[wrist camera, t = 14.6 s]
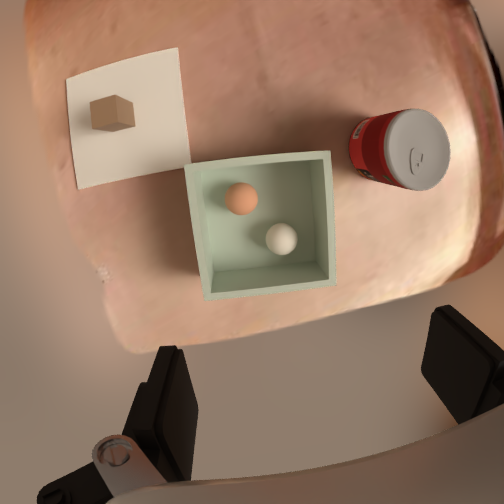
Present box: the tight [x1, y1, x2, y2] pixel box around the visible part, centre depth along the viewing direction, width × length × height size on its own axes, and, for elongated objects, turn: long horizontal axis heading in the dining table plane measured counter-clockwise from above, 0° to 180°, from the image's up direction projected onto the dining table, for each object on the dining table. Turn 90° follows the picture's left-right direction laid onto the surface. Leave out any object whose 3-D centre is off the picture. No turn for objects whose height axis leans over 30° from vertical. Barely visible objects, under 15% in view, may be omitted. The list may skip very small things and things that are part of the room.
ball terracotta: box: [225, 182, 258, 215], centre depth 34 cm, size 4×4×4 cm
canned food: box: [349, 109, 450, 191], centre depth 30 cm, size 8×8×11 cm
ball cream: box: [266, 223, 298, 255], centre depth 36 cm, size 4×4×4 cm
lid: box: [66, 47, 192, 190], centre depth 30 cm, size 15×15×7 cm
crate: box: [184, 151, 336, 301], centre depth 34 cm, size 14×14×7 cm
